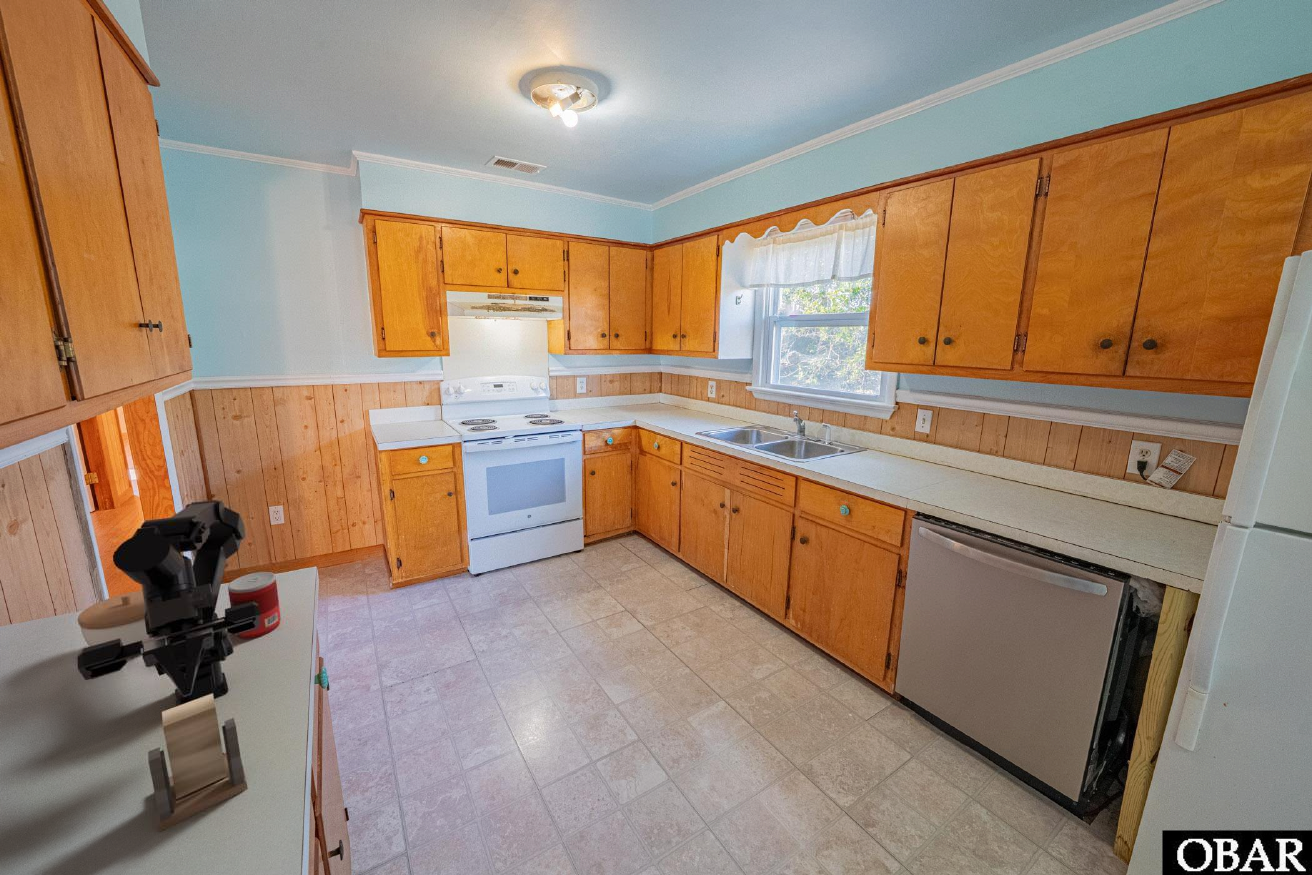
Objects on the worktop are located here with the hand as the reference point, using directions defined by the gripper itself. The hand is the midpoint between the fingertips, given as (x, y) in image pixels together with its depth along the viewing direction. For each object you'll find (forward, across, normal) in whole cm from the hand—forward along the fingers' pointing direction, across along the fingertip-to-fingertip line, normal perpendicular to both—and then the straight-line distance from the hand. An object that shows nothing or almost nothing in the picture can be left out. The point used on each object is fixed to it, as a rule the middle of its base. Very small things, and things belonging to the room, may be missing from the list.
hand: (187, 695), depth 69 cm
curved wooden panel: (+11, 0, +3) cm, 11 cm away
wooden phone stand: (+12, 0, +4) cm, 13 cm away
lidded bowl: (-22, -6, +39) cm, 46 cm away
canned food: (-17, +12, +34) cm, 39 cm away
